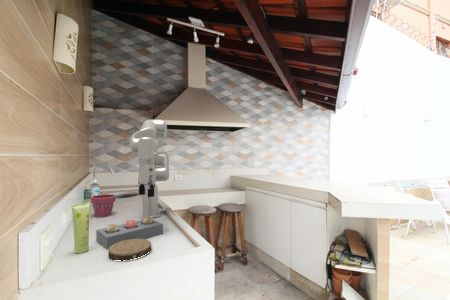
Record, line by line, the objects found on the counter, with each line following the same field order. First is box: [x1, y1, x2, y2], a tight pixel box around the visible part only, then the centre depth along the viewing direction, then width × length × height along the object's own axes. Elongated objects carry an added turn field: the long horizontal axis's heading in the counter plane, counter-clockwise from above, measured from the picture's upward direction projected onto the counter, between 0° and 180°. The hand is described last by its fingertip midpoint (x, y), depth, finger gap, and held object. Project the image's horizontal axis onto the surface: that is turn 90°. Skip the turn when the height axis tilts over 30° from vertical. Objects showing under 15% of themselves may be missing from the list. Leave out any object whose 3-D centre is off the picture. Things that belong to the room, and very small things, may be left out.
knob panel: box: [95, 219, 164, 250], centre depth 111 cm, size 26×14×5 cm, turn 135°
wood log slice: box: [107, 239, 152, 261], centre depth 93 cm, size 16×16×3 cm
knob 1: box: [106, 223, 119, 234], centre depth 105 cm, size 4×4×4 cm
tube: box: [71, 201, 91, 254], centre depth 95 cm, size 6×5×20 cm
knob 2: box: [142, 217, 153, 225], centre depth 117 cm, size 4×4×4 cm
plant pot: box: [90, 193, 116, 218], centre depth 152 cm, size 14×14×13 cm
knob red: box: [125, 219, 137, 229], centre depth 111 cm, size 4×4×4 cm
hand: (146, 195), depth 117 cm, fingers open, 9 cm apart
